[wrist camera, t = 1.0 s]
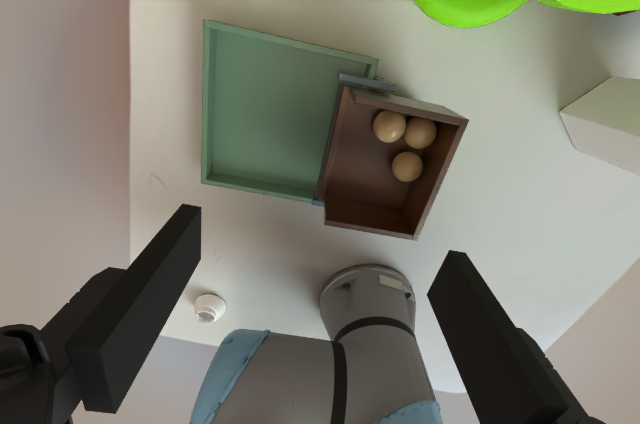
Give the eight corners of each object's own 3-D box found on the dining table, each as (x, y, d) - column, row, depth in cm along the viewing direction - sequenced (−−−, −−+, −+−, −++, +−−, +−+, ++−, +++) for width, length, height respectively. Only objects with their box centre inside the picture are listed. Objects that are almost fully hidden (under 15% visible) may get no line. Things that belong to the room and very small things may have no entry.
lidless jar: (213, 318, 53) (232, 304, 51) (207, 332, 50) (228, 318, 48) (189, 302, 51) (209, 287, 49) (182, 316, 48) (203, 301, 47)
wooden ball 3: (406, 175, 33) (422, 187, 31) (382, 173, 32) (397, 186, 30) (416, 148, 32) (434, 159, 29) (391, 145, 30) (408, 157, 28)
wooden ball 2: (417, 143, 31) (436, 154, 29) (393, 141, 30) (410, 152, 28) (428, 114, 30) (448, 123, 28) (403, 110, 29) (422, 119, 26)
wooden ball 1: (381, 135, 31) (405, 146, 29) (363, 136, 29) (387, 148, 27) (390, 105, 30) (416, 114, 28) (371, 104, 28) (398, 114, 26)
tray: (338, 197, 41) (339, 208, 39) (208, 174, 40) (201, 183, 37) (374, 58, 33) (378, 59, 30) (213, 21, 31) (203, 19, 29)
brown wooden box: (401, 209, 36) (417, 241, 30) (314, 194, 35) (313, 223, 29) (441, 105, 30) (469, 119, 24) (338, 82, 29) (343, 92, 23)
